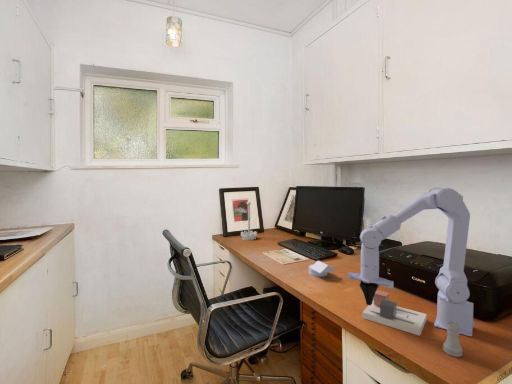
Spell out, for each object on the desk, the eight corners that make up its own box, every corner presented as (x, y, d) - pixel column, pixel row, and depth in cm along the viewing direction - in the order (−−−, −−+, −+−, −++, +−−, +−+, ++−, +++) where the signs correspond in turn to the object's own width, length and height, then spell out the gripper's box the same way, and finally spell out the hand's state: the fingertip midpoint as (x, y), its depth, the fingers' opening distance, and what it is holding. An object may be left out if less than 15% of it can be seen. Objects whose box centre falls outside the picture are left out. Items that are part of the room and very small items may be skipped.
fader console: (426, 319, 91) (426, 313, 91) (420, 335, 82) (420, 329, 82) (373, 305, 102) (373, 300, 102) (362, 318, 93) (362, 312, 93)
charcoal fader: (396, 314, 90) (396, 302, 90) (393, 319, 87) (393, 306, 87) (383, 310, 93) (383, 299, 92) (380, 315, 90) (380, 303, 89)
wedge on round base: (336, 277, 131) (320, 269, 143) (336, 264, 131) (320, 257, 143) (319, 280, 128) (305, 271, 140) (320, 266, 128) (305, 258, 140)
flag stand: (240, 237, 227) (240, 201, 225) (256, 236, 228) (255, 200, 227) (241, 240, 214) (241, 202, 212) (258, 240, 215) (257, 202, 214)
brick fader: (388, 303, 98) (389, 292, 98) (385, 307, 95) (385, 296, 95) (377, 300, 101) (377, 289, 100) (373, 304, 97) (373, 293, 97)
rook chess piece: (461, 360, 71) (462, 329, 71) (441, 353, 74) (441, 323, 74) (463, 352, 74) (464, 323, 74) (443, 345, 77) (444, 317, 77)
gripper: (344, 263, 95) (344, 302, 95) (389, 272, 85) (389, 314, 86) (351, 258, 100) (351, 295, 101) (395, 266, 91) (394, 306, 91)
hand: (369, 303), depth 94 cm, fingers closed
